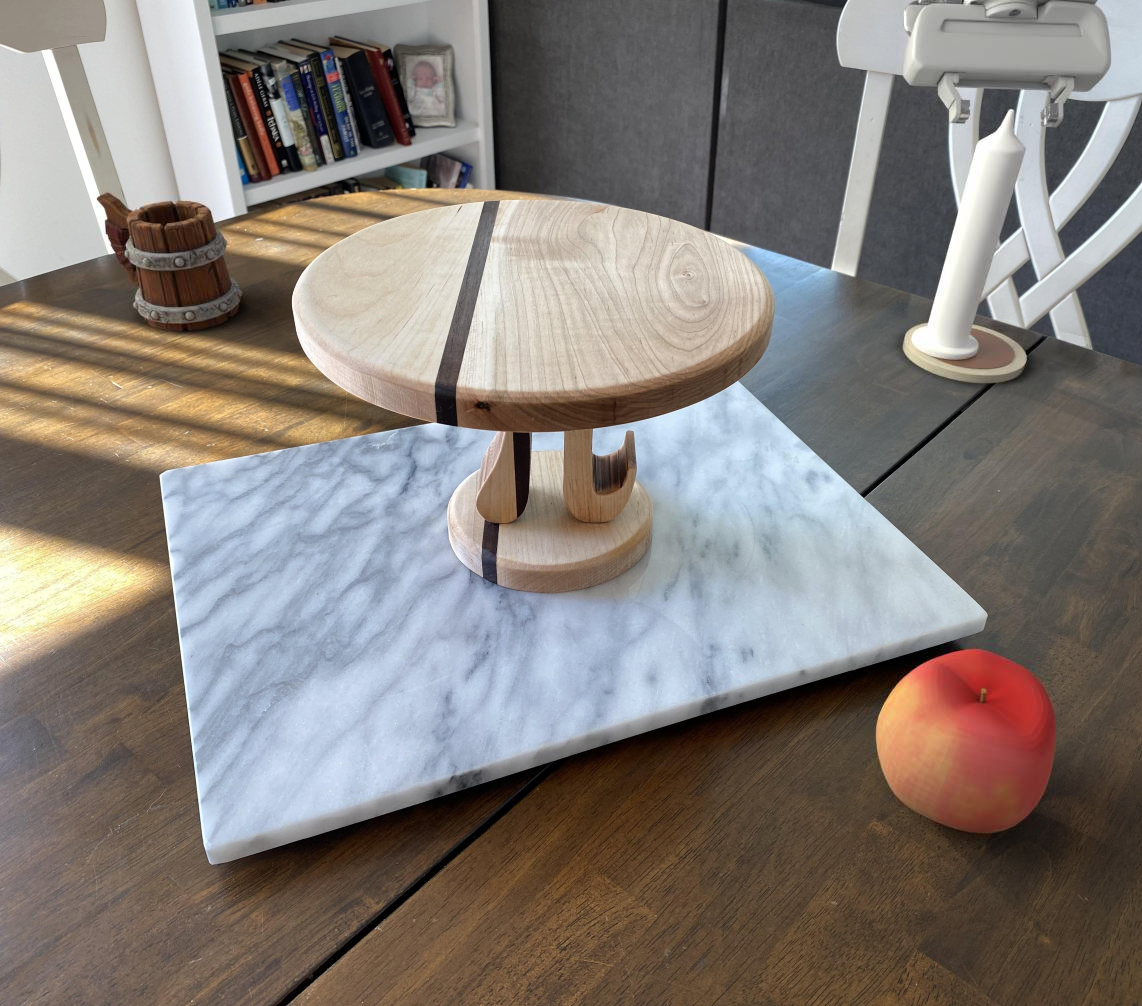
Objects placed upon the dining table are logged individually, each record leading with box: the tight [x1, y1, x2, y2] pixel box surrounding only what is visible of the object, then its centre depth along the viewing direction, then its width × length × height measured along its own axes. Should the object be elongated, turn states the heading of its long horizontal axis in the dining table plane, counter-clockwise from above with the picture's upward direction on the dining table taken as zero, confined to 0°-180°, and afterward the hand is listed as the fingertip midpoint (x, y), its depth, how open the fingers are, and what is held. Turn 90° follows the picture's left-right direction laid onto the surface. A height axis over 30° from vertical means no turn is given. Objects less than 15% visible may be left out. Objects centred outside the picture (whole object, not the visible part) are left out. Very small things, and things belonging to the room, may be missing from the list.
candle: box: [912, 108, 1027, 360], centre depth 97 cm, size 7×7×25 cm
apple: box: [875, 648, 1057, 834], centre depth 54 cm, size 10×10×10 cm
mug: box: [96, 191, 243, 332], centre depth 106 cm, size 12×14×15 cm
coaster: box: [902, 322, 1028, 384], centre depth 105 cm, size 13×13×1 cm
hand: (1005, 122), depth 96 cm, fingers open, 8 cm apart
